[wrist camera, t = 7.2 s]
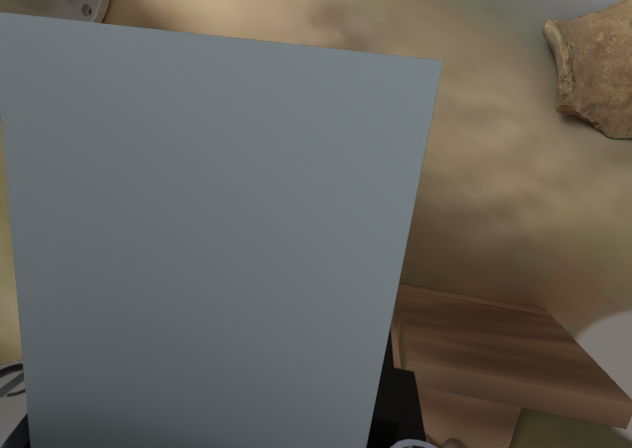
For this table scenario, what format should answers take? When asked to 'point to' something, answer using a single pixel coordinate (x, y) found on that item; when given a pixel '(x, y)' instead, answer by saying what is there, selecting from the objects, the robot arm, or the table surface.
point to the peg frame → (494, 368)
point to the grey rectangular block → (205, 231)
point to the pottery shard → (595, 67)
